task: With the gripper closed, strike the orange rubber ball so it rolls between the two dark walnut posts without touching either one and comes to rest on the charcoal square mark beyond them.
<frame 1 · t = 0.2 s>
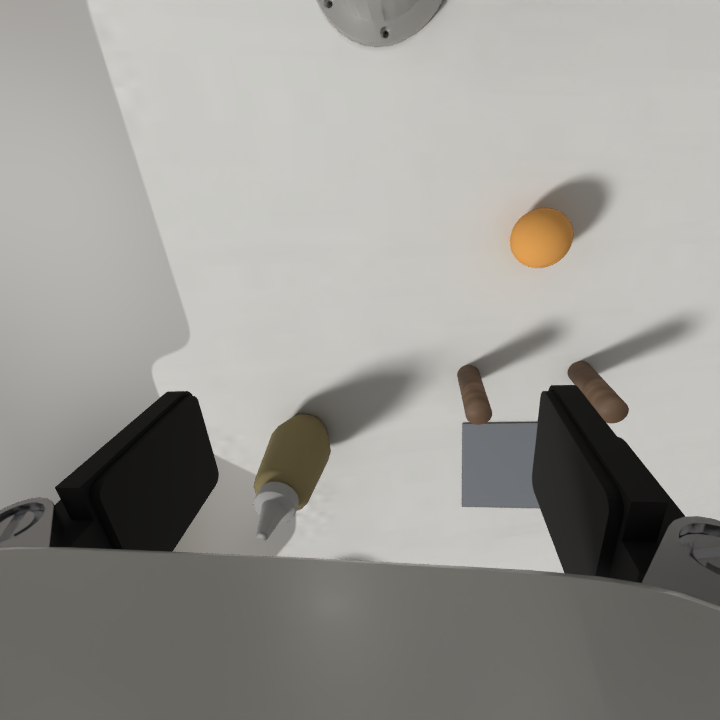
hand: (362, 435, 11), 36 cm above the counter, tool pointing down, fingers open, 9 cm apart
ball: (540, 238, 39), on the counter
post 2: (468, 374, 49), on the counter
post 1: (579, 371, 47), on the counter
squeeze bottle: (307, 430, 56), on the counter
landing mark: (515, 466, 54), on the counter
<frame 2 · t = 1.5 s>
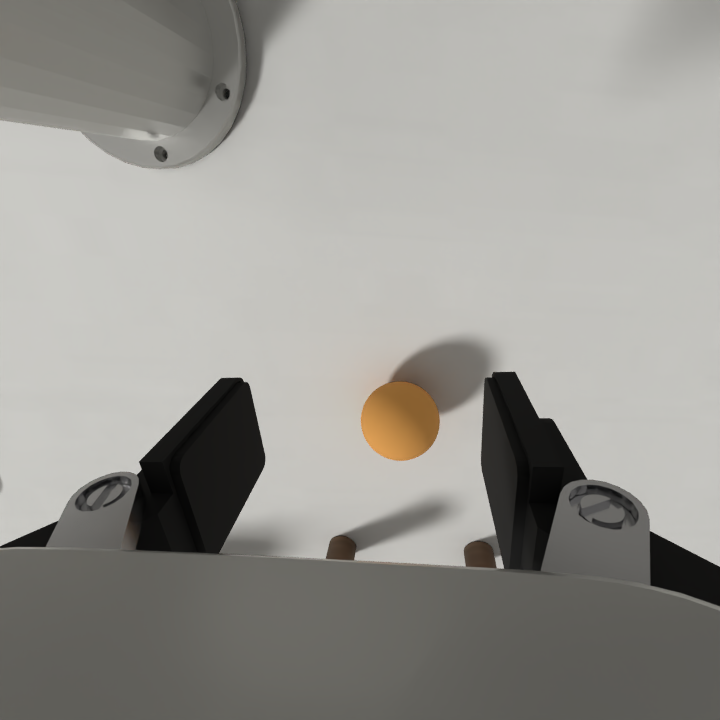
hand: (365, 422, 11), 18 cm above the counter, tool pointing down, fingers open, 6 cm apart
ball: (399, 420, 29), on the counter
post 2: (342, 545, 39), on the counter
post 1: (478, 551, 37), on the counter
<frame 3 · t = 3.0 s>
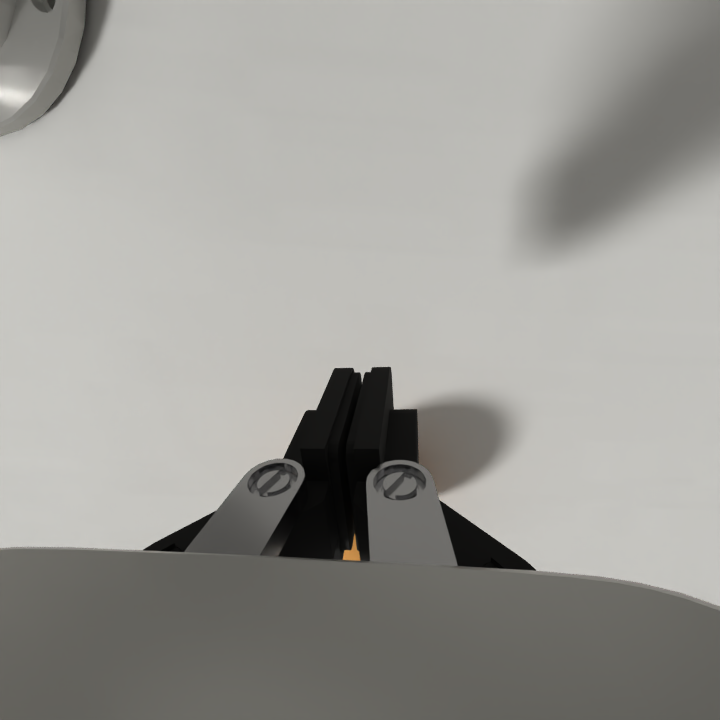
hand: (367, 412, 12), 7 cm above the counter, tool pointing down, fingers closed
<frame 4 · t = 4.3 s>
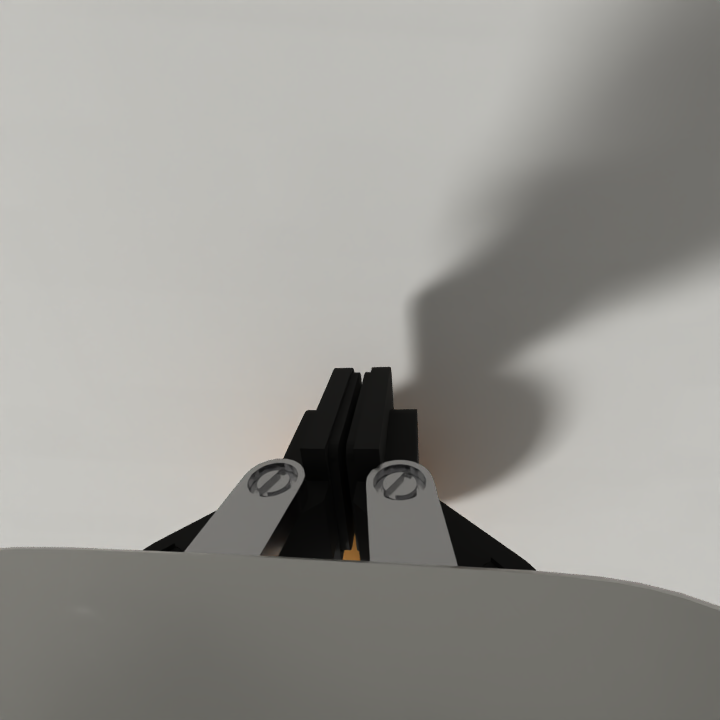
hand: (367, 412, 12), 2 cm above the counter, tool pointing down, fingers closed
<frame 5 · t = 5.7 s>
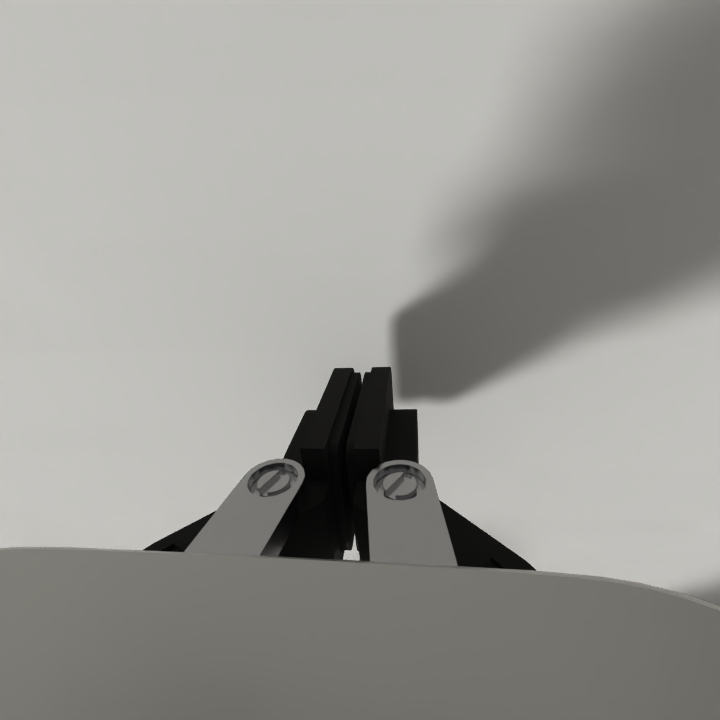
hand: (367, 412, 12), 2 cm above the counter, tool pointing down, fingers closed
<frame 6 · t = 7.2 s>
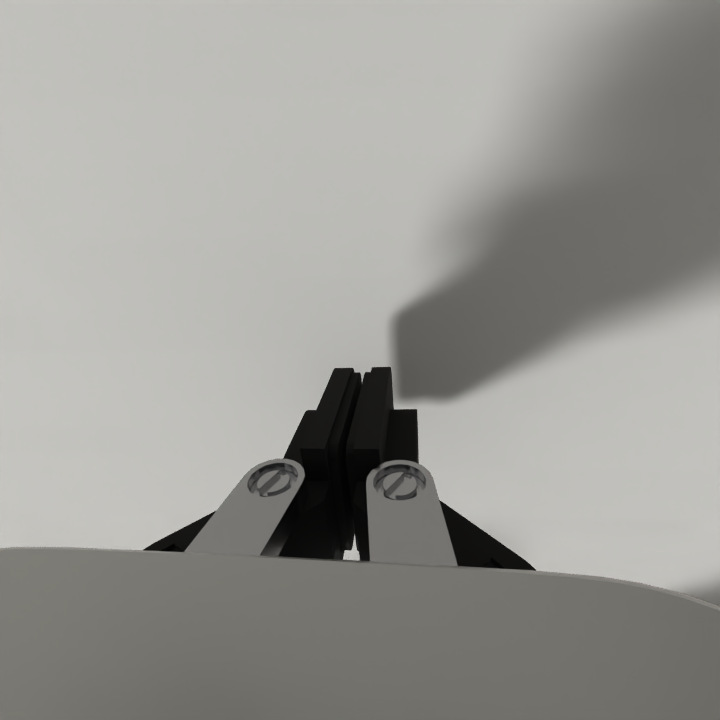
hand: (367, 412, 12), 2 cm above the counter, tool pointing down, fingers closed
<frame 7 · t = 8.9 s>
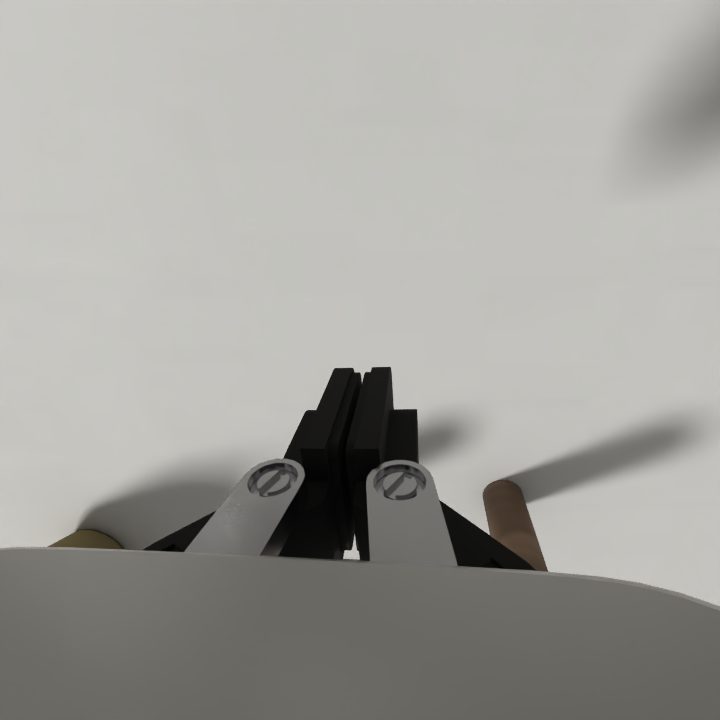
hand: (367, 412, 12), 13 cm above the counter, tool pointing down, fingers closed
post 1: (502, 495, 27), on the counter
squeeze bottle: (101, 550, 36), on the counter
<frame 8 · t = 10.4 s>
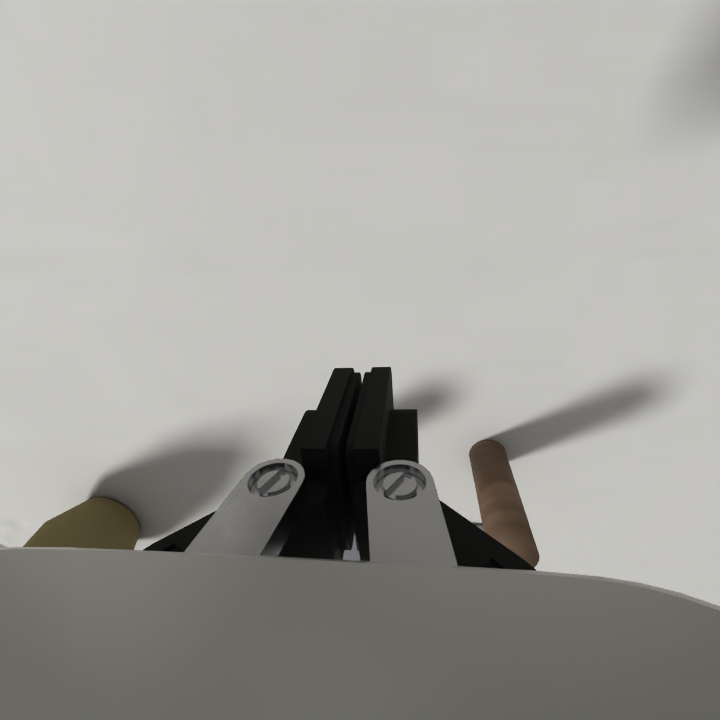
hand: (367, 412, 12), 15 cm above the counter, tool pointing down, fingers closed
post 1: (487, 454, 30), on the counter
squeeze bottle: (113, 517, 38), on the counter
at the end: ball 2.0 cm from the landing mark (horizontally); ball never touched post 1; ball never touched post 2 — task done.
